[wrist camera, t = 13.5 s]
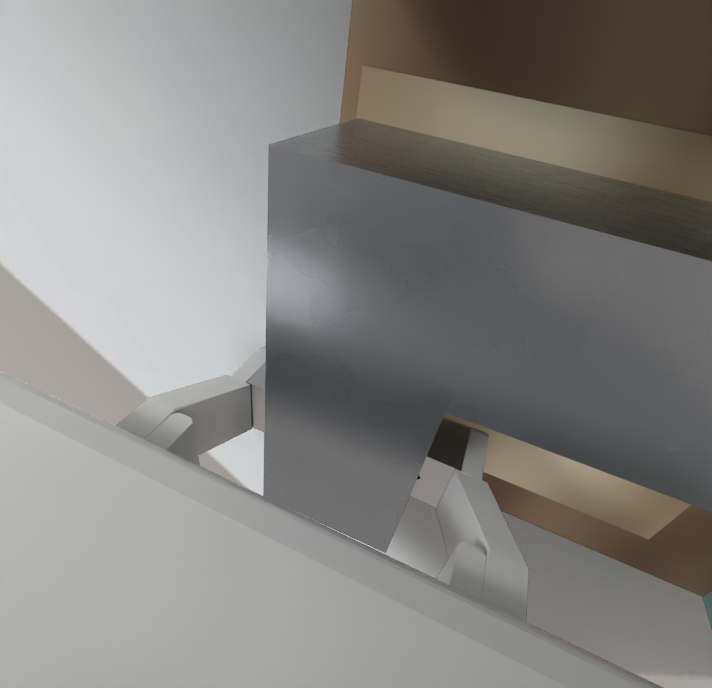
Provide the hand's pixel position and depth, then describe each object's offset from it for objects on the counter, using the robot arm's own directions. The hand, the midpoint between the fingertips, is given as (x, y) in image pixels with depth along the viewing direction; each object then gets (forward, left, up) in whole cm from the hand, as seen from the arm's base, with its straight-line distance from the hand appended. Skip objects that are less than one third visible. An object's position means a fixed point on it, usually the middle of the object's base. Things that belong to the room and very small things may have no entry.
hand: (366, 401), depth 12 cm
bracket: (+4, +2, -2) cm, 5 cm away
